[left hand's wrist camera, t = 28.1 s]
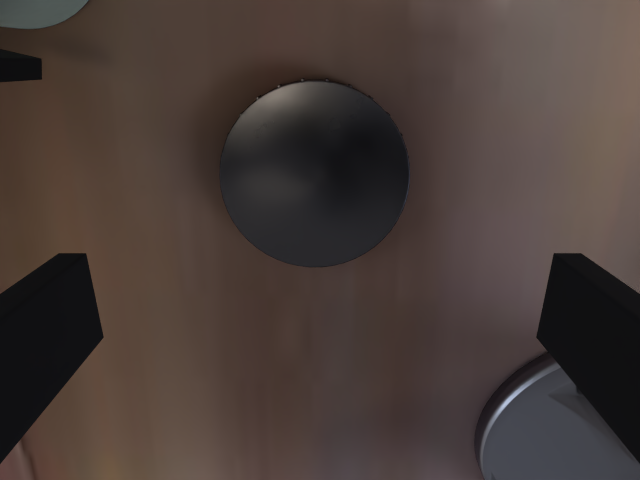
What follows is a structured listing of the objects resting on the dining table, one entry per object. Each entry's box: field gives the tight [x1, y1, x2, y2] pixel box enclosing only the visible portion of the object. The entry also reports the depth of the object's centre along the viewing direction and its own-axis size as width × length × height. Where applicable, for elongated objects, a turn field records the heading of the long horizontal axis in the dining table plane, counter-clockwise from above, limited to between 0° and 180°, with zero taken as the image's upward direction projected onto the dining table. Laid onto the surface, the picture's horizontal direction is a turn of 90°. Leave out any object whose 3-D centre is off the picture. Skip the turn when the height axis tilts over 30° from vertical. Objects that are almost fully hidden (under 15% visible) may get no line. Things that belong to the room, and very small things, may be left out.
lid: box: [220, 78, 410, 267], centre depth 22 cm, size 10×10×2 cm
